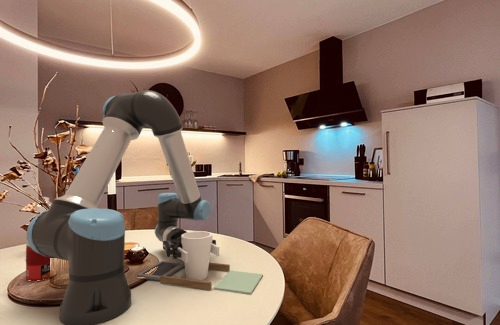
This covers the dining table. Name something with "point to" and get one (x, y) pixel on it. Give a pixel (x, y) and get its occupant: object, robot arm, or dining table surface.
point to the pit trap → (162, 270)
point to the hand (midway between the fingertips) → (203, 254)
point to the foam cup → (197, 253)
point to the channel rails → (191, 282)
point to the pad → (239, 282)
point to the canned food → (36, 265)
